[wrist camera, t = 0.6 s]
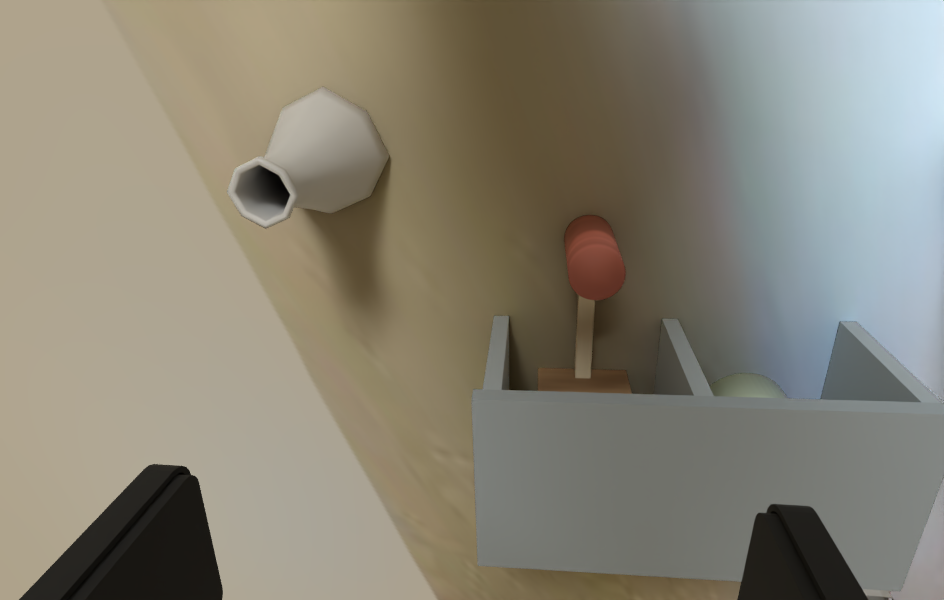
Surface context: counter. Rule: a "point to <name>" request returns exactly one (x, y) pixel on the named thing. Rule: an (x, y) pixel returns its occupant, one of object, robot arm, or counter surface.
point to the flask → (311, 161)
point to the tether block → (589, 305)
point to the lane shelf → (704, 467)
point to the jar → (747, 386)
